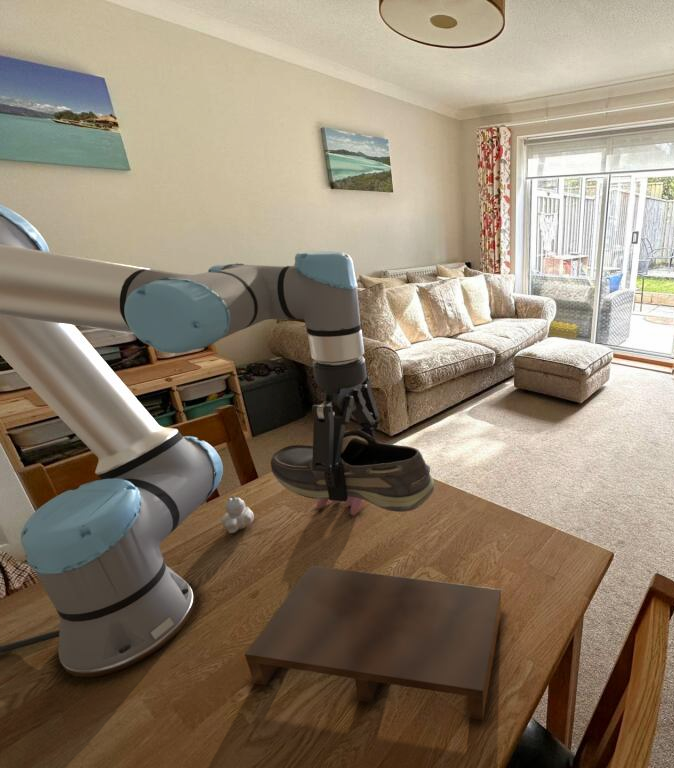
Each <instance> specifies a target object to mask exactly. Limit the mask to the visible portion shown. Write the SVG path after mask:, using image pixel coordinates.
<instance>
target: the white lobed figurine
mask: <svg viewBox="0 0 674 768" xmlns="http://www.w3.org/2000/svg"><path fill="white" fill-rule="evenodd" d="M225 510H226V513H225V514H224V515H223V516H222V518H221V524H222V526H223V527H224V528H226V529H227V531H228V533H229V534H234V533H236V532H237V531H238V530H243V529H245V528H247V527H249V526H251V524H252V523H253V521H254V519H255V514H254V512H253V511H252V510H251V508H250V507H248V506H246V503H245V501H244V500H243V499H241V498H240V497H236V495H235V494H234V493H233V494H232V496H231V497H229V498H228V499H227V501H226V504H225Z"/></svg>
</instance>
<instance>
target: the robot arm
mask: <svg viewBox="0 0 674 768" xmlns="http://www.w3.org/2000/svg"><path fill="white" fill-rule="evenodd" d="M50 251H51V250H50V248H49V246H48V243H47V241H46V240H45V239H44V237H43V235H41V233H40V232H39V231H38V230H37V228H36V227H34V225H32V223H30V221H28V220H27V219H26V218H24V217H23V216H22V215H20V214H18V213H17V212H15V211H13V210H12V209H11V208H8V207H6V206H5V205H2V204H0V356H1V357H2V359H4V361H5V362H6V363H8V365H9V366H10V367H12V369H13V370H14V371H15V372H16V373H17V374H18V375H19V376H20V377H21V378H22V380H24V381H25V382H26V384H27V385H28V386H29V387H30V388H31V389H32V390H33V391H34V392H35V393H36V394H37V395H38V396H39V398H41V400H42V401H43V402H44V403H46V405H47V406H48V407H49V408H50V409H51V410H52V411H53V412H54V414H56V415H57V417H59V419H61V421H63V422H64V424H65V425H66V426H67V427H68V428H69V429H70V430H71V431H72V432H73V433H74V434H75V436H77V437H78V438H79V439H80V441H81V442H82V443H83V444H84V445H85V446H86V447H87V448H88V449H89V450H90V451H91V452H92V454H94V455H95V456H96V457H97V459H98V461H97V465H96V468H95V470H94V473H95V475H96V476H97V477H98V478H99V479H97V480H93V481H90V482H86V483H83V484H80V485H79V487H78V488H76V489H68V490H66V491H64V492H62V493H60V494H58V495H56V496H54V497H53V498H51V499H49V500H48V501H47V502H46V503H44V504H42V505H41V506H40V507H39V508H37V509H36V510H35V511H34V512H33V513H32V514H31V515H30V516H29V518H27V520H26V522H25V523H24V524H23V526H22V528H21V532H20V543H21V545H22V546H21V547H22V548H23V551H24V553H25V559H26V563H27V565H28V566H29V568H31V569H32V570H33V571H34V573H35V574H36V576H37V578H38V580H39V582H40V583H41V585H42V587H43V589H44V591H45V592H46V594H47V596H48V598H49V599H50V601H51V603H52V605H53V607H54V609H55V610H56V613H57V614H58V616H59V619H60V620H59V629H57V630H53V631H49V632H46V633H42V634H37V635H35V636H32V637H28V638H25V639H20V640H17V641H13V642H10V643H6V644H2V645H0V654H2V653H5V652H9V651H12V650H17V649H20V648H21V649H22V648H25V647H28V646H31V645H34V644H38V643H41V642H45V641H49V640H52V639H56V638H58V646H57V653H58V658H59V662H60V663H61V665H62V667H63V668H64V670H65V671H66V672H67V673H68V674H69V675H71V676H73V677H78V678H95V677H96V678H97V677H102V676H105V675H110V674H113V673H116V672H118V671H121V670H124V669H127V668H128V667H132V666H133V665H135V664H137V663H139V662H141V661H142V660H144V659H146V658H148V657H150V656H151V655H152V654H154V653H155V652H157V651H158V650H159V649H161V648H163V647H164V646H165V645H166V644H167V643H168V642H170V641H171V640H172V639H173V638H174V637H175V636H177V634H178V633H179V632H180V631H181V630H182V629H183V628H184V626H185V625H186V624H187V623H188V621H189V620H190V618H191V616H192V614H193V612H194V609H195V604H196V598H195V595H194V592H193V589H192V588H191V585H190V584H189V583H188V582H187V581H186V580H185V579H184V578H182V577H181V576H180V575H179V574H177V573H176V572H175V571H174V570H172V568H170V567H168V565H167V564H166V562H165V559H164V556H163V553H162V551H161V549H160V545H161V544H162V543H163V541H165V539H167V538H168V537H169V535H171V533H173V532H174V531H175V530H176V529H177V528H178V527H179V526H180V525H181V524H182V523H183V522H184V521H185V520H186V519H188V518H189V516H190V515H192V514H193V513H194V511H196V509H198V508H199V507H200V506H202V505H203V504H205V502H207V500H208V499H209V498H210V497H211V495H212V494H213V493H214V492H215V490H216V489H217V488H218V487H219V486H220V483H221V481H222V478H223V474H224V467H223V461H222V459H221V456H220V455H219V452H217V450H216V449H215V448H214V447H213V446H212V445H211V444H210V443H208V442H207V441H205V440H199V438H198V437H196V436H191V435H187V436H186V435H185V436H183V434H182V433H180V431H179V430H178V429H177V428H172V427H167V426H166V427H164V426H162V425H160V424H159V423H158V422H157V421H156V420H155V418H154V417H153V416H152V415H151V414H150V412H149V411H148V410H147V409H146V407H144V405H143V404H142V403H141V402H140V401H139V400H138V398H137V397H136V396H135V395H134V394H133V392H132V391H131V390H130V389H129V387H127V385H126V384H125V383H124V381H122V380H121V378H120V377H119V376H118V375H117V374H116V373H115V371H114V370H113V369H112V368H111V366H109V364H108V363H107V362H106V360H105V359H104V358H103V357H102V356H101V355H100V353H98V351H97V350H96V349H95V348H94V347H93V345H92V344H91V343H90V342H89V341H88V339H87V338H86V337H85V336H84V335H83V334H82V332H81V331H80V330H79V329H78V328H77V327H82V328H91V329H97V330H103V331H111V332H118V333H125V334H131V335H132V334H133V335H135V337H136V338H137V339H139V341H141V342H142V343H144V344H147V345H148V346H151V347H152V348H154V349H155V350H156V351H160V352H161V353H168V354H184V353H188V352H190V351H193V350H199V349H203V348H204V349H205V348H207V347H209V346H211V345H213V344H215V343H217V342H219V341H220V340H222V339H224V338H227V337H229V336H231V335H233V334H235V333H238V332H240V331H243V330H246V329H248V328H251V327H252V326H255V325H257V324H259V323H262V322H263V321H267V320H296V321H297V320H304V324H305V328H306V329H305V330H306V333H307V340H308V344H309V351H310V357H311V359H313V361H312V363H311V365H312V372H313V377H314V378H313V379H314V383H315V385H316V386H317V387H320V388H321V389H322V391H323V392H324V396H323V403H321V404H313V405H312V407H311V414H312V418H313V434H312V446H313V460H312V469H313V471H322V472H324V475H325V481H326V485H327V489H328V495H329V500H328V501H333V500H334V501H342V502H344V503H345V502H346V500H347V499H348V497H347V490H346V483H345V476H344V470H343V464H339V461H340V455H341V448H342V442H343V436H344V432H345V429H346V425H348V424H349V422H350V417H351V415H352V417H353V418H354V419H355V421H356V422H357V424H358V425H359V427H360V428H358V430H361V431H363V432H365V433H367V434H368V435H370V436H372V437H373V438H375V439H376V435H375V429H379V428H380V422H379V420H380V414H379V410H378V407H377V404H376V401H375V396H374V394H373V391H372V388H371V380H370V376H369V375H367V366H366V358H365V357H364V356H363V355H364V354H365V347H364V337H363V331H362V324H361V315H360V305H359V303H360V302H359V293H358V288H359V285H358V282H357V278H356V273H355V267H354V261H353V259H352V257H351V256H350V255H349V253H348V254H347V253H346V252H343V251H333V250H331V251H330V250H322V251H321V250H320V251H319V250H318V251H316V250H313V251H312V250H310V251H309V250H307V251H300V252H297V253H296V254H295V256H294V264H293V265H263V264H262V265H261V264H244V263H238V262H236V263H232V264H231V263H230V264H229V263H228V264H216V265H213V266H210V268H208V270H207V271H206V272H202V273H196V274H187V273H186V274H185V273H179V272H172V271H166V270H159V269H152V268H149V267H143V266H136V265H130V264H124V263H118V262H112V261H105V260H99V259H92V258H88V257H87V258H86V257H80V256H74V255H69V254H62V253H57V252H50ZM334 416H335V417H334ZM340 417H341V418H340Z"/></svg>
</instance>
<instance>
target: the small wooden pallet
mask: <svg viewBox="0 0 674 768" xmlns="http://www.w3.org/2000/svg"><path fill="white" fill-rule="evenodd" d="M501 601H502V589H501V588H500V589H499V588H491V587H483V586H476V585H468V584H460V583H453V582H445V581H437V580H429V579H420V578H413V577H406V576H405V577H404V576H397V575H389V574H380V573H372V572H366V571H358V570H357V571H356V570H349V569H342V568H333V567H327V566H326V567H325V566H317V565H310V566H309V567H308V569H307V570H306V571H305V573H304V574H303V576H302V577H301V578H300V579H299V581H298V582H297V584H296V585H295V586H294V587H293V589H292V590H291V592H290V593H289V594H288V595H287V597H286V598H285V600H283V602H282V603H281V604H280V606H279V608H277V611H276V612H275V613H274V614H273V615H272V617H271V618H270V620H269V621H268V622H267V623H266V625H265V626H264V627H263V629H262V630H261V632H260V633H259V634H258V636H257V637H256V638H255V640H254V641H253V642H252V644H251V645H250V646H249V648H248V649H247V650H246V652H245V653H244V657H245V660H246V663H247V666H248V668H249V672H250V676H251V678H252V681H253V684H255V685H260V686H267V685H268V683H269V682H270V681H271V679H272V677H273V676H274V674H275V673H276V671H277V670H278V668H285V669H292V670H298V671H304V672H311V673H317V674H324V675H330V676H337V677H342V678H343V677H344V678H350V679H354V682H355V688H356V694H357V699H358V701H360V702H365V703H372V702H373V699H374V697H375V694H376V692H377V689H378V687H379V685H380V683H382V684H389V685H394V686H395V685H396V686H400V687H408V688H414V689H420V690H421V689H422V690H427V691H432V692H433V691H434V692H439V693H447V694H452V695H460V696H465V697H468V704H469V705H468V710H469V711H468V712H469V713H468V715H469V719H471V720H477V721H483V720H484V718H485V717H484V716H485V710H486V704H487V698H488V693H489V686H490V680H491V675H492V670H493V669H492V668H493V662H494V658H495V651H496V645H497V638H498V633H499V628H500V627H499V626H500V622H501V621H500V620H501V610H502V609H501V603H502V602H501Z"/></svg>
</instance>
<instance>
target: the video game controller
mask: <svg viewBox="0 0 674 768" xmlns="http://www.w3.org/2000/svg"><path fill="white" fill-rule="evenodd" d="M329 501H330V500H329V498H328V499H317V500H316V507H317V509H320V510H321V509H322V508H324V507H325V506H326V504H327V503H328V502H329ZM363 501H364V500H363V499H360V498H356V497H348V499H347V500H346V502H345V501H344V503H345V505H347V506H350V514H351V516H356V514H357V513H358V512H360V509H361V507H362V504H363ZM332 502H333V503H334V504H340V503H342V502H343V501H334V500H332Z"/></svg>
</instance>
